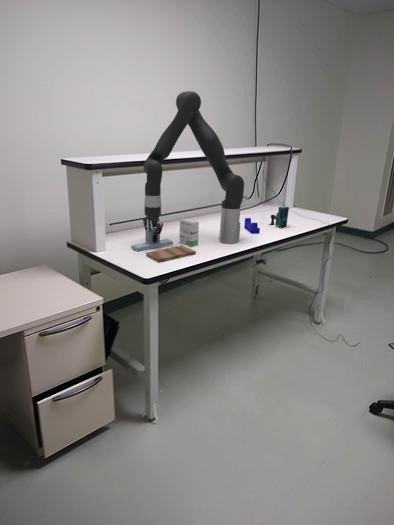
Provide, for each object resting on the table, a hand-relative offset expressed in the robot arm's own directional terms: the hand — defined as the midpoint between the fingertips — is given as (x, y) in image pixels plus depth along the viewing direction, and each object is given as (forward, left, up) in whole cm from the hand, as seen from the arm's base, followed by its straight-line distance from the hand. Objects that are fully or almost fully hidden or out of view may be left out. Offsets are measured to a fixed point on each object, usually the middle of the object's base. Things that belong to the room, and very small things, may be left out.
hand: (152, 241), depth 187 cm
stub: (0, 0, -3) cm, 3 cm away
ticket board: (0, +15, -3) cm, 15 cm away
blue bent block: (-62, +5, -3) cm, 63 cm away
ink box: (-17, +6, -3) cm, 18 cm away
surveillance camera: (-83, +6, -3) cm, 83 cm away
